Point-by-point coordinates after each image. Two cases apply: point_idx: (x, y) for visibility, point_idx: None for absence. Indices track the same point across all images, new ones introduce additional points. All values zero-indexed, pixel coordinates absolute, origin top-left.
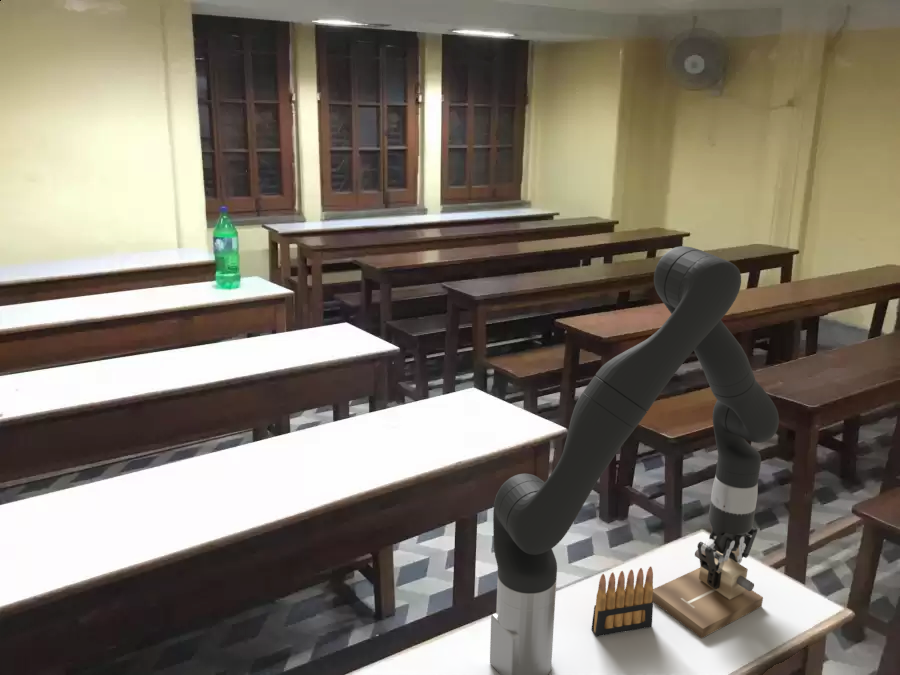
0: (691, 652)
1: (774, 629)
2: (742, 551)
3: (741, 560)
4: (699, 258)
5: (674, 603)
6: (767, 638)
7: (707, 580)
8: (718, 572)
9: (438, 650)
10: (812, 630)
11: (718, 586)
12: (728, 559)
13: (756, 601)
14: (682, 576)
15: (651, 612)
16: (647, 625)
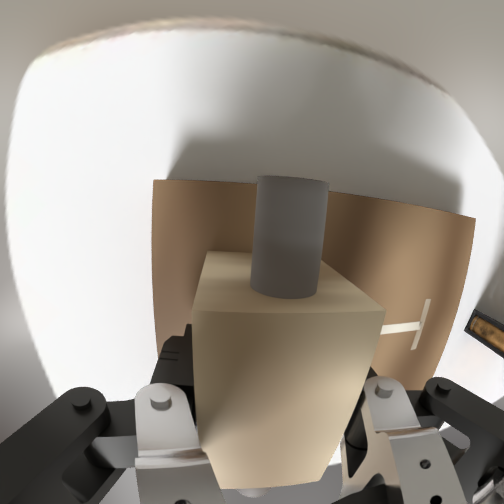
0: (487, 202)
1: (248, 78)
2: (160, 480)
3: (150, 396)
4: None
5: (439, 338)
6: (312, 73)
7: None
8: (389, 379)
9: None
10: (146, 23)
11: None
12: (221, 438)
13: (202, 181)
14: None
15: (502, 325)
16: (482, 313)
